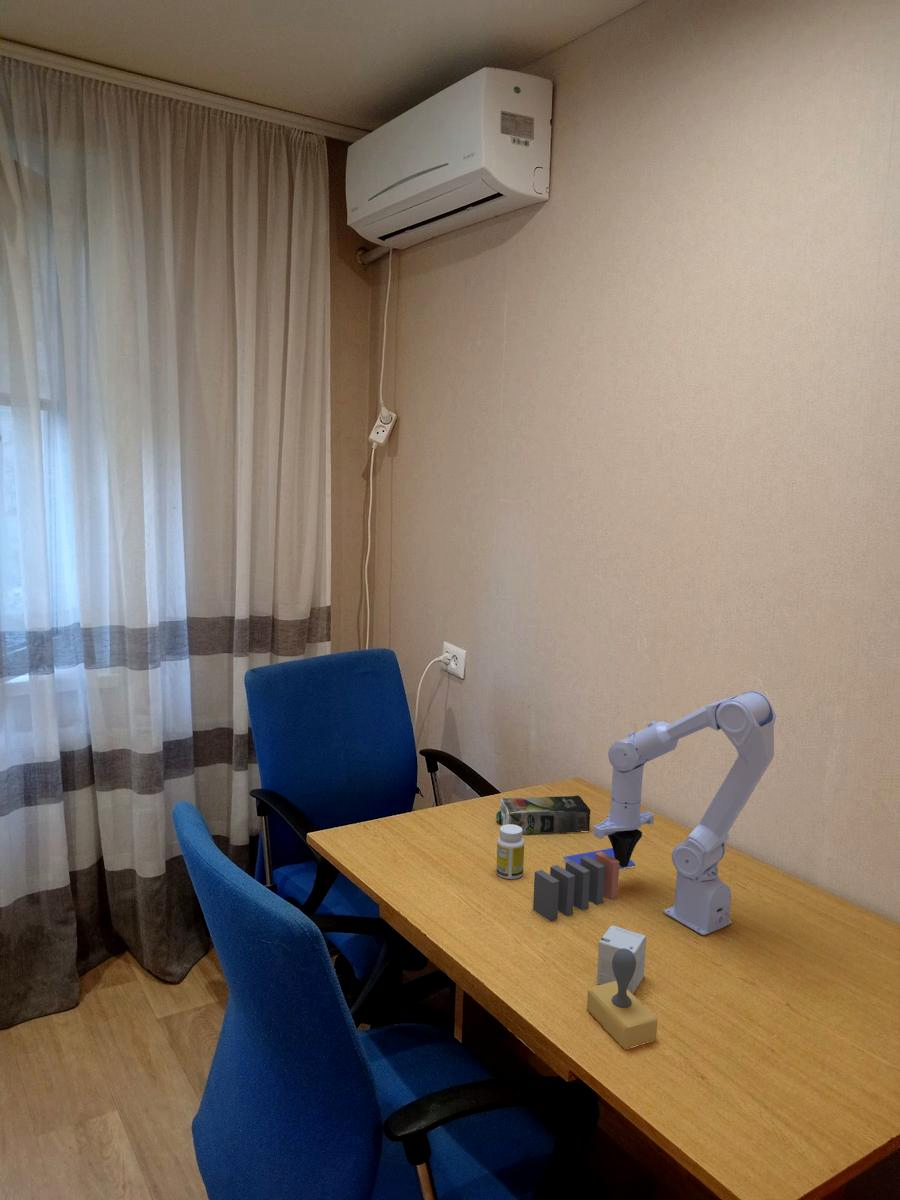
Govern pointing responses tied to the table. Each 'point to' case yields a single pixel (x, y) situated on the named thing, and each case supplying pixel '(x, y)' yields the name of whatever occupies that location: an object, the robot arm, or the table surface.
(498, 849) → the supplement bottle
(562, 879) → the domino
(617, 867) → the domino
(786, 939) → the table surface
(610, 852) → the hard drive
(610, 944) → the skincare box
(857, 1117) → the table surface
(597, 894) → the domino
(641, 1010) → the rubber stamp
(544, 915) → the domino
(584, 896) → the domino
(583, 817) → the juice carton
